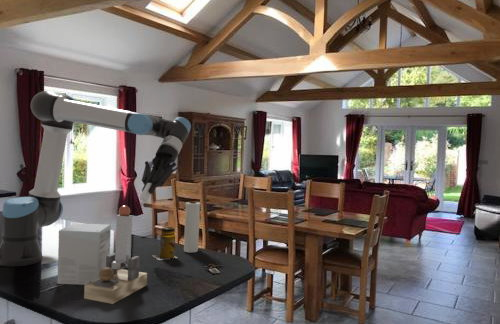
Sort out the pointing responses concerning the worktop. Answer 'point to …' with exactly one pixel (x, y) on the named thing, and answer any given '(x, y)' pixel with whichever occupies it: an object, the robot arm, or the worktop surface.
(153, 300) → the worktop surface
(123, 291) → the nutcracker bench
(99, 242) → the supplement box
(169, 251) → the condiment
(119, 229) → the lever
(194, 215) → the paper towel roll
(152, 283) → the worktop surface
